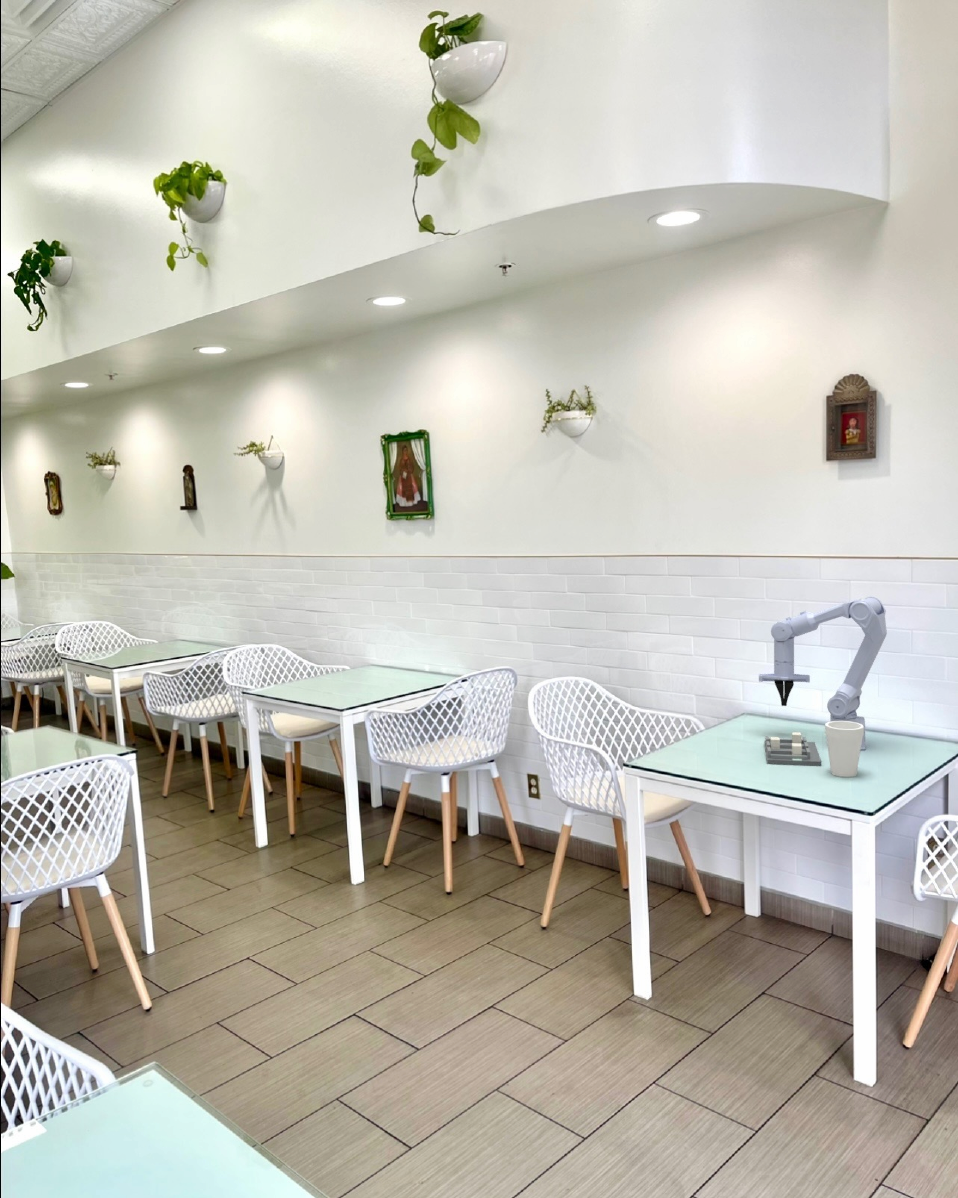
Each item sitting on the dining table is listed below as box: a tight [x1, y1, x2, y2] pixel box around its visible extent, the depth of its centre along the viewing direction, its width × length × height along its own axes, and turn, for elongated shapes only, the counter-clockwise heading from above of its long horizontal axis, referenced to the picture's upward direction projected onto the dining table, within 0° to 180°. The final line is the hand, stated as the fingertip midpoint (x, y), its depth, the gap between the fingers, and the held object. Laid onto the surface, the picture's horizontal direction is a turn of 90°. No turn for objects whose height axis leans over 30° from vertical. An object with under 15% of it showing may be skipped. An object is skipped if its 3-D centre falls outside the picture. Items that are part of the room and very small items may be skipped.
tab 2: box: [791, 731, 802, 743], centre depth 272 cm, size 2×3×3 cm
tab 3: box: [792, 743, 802, 755], centre depth 261 cm, size 2×3×3 cm
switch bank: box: [764, 735, 822, 767], centre depth 267 cm, size 14×20×3 cm
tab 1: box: [769, 736, 781, 749], centre depth 268 cm, size 2×3×3 cm
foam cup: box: [824, 721, 864, 778], centre depth 248 cm, size 10×9×13 cm
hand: (783, 705), depth 285 cm, fingers closed
